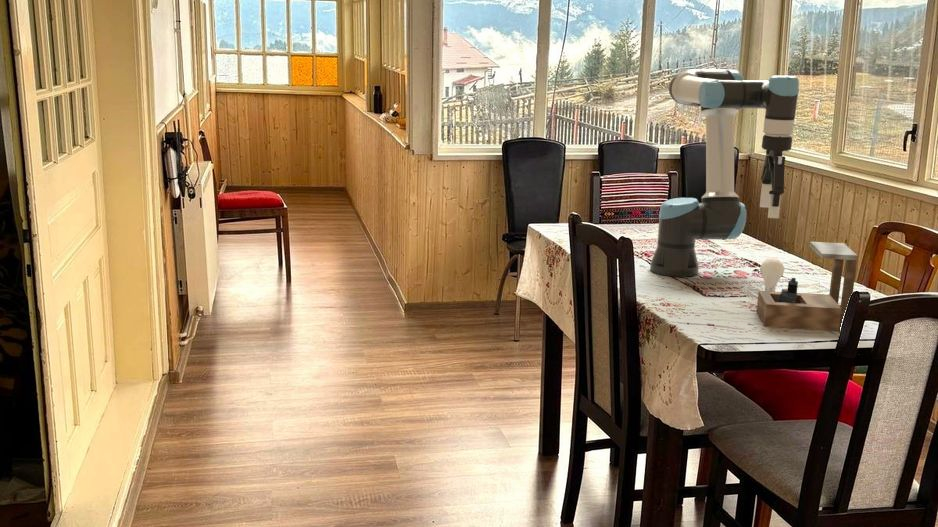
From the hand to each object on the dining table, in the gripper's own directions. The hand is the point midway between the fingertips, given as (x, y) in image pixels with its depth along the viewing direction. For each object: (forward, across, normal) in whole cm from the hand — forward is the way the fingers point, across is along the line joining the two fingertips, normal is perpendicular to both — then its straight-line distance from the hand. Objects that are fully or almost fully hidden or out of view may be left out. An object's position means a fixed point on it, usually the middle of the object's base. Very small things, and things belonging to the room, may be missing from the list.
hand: (768, 212), depth 237 cm
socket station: (+26, -14, -8) cm, 31 cm away
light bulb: (+27, +11, -5) cm, 29 cm away
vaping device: (+26, -14, -5) cm, 30 cm away
